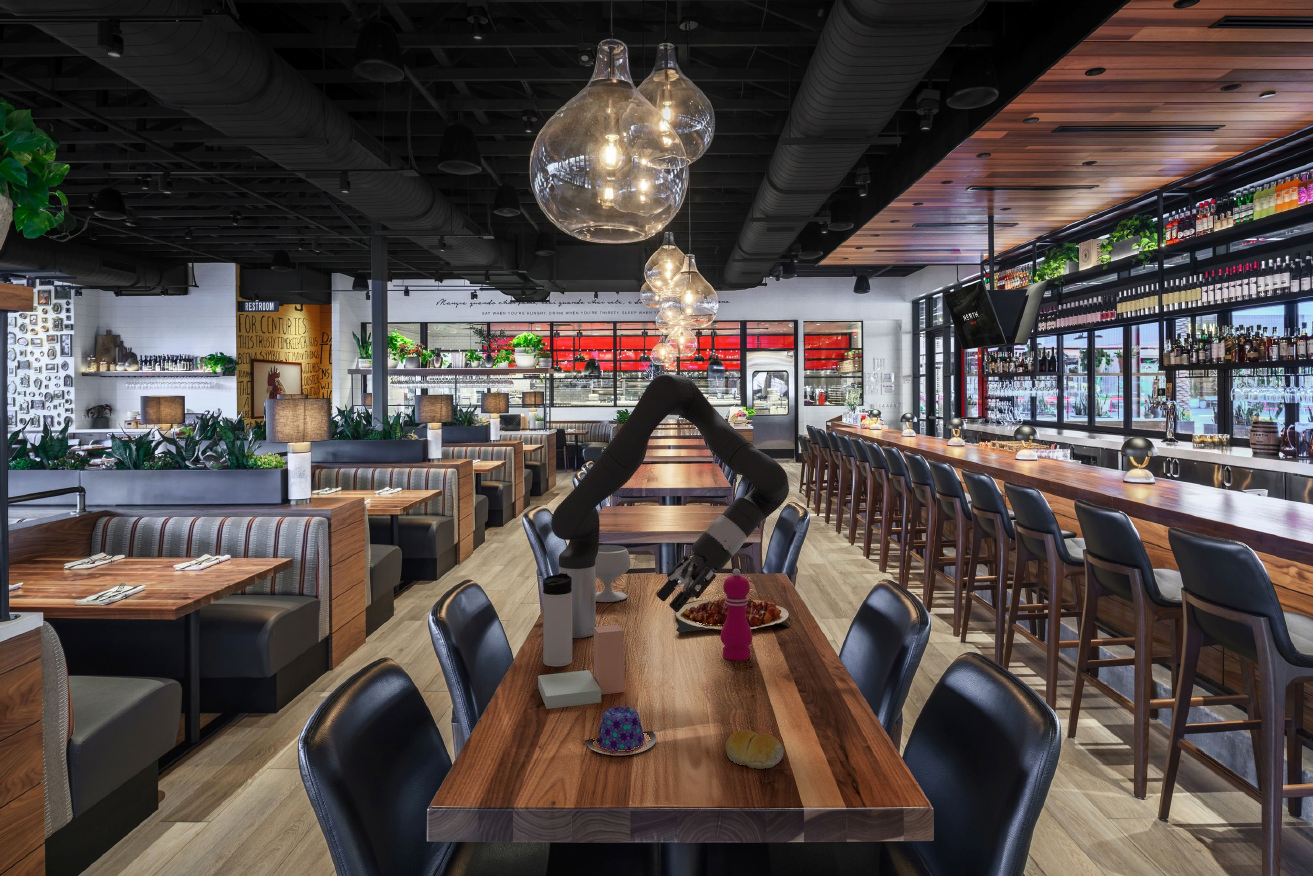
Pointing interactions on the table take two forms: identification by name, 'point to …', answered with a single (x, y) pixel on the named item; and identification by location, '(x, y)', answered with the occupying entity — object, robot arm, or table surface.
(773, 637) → the table surface
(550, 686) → the ticket board
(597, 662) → the stub
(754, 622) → the plate of glazed chicken
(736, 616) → the pepper mill
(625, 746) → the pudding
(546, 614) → the travel mug
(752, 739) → the bread roll
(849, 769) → the table surface
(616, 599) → the chalice
